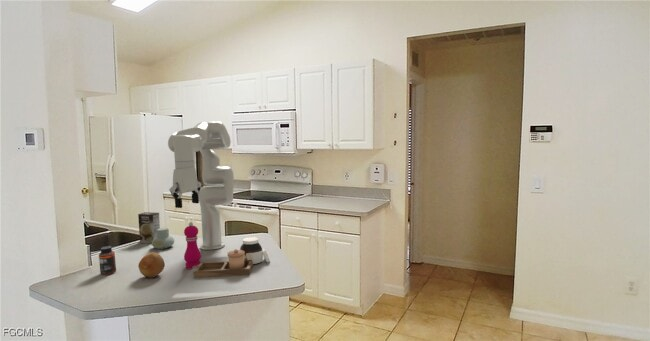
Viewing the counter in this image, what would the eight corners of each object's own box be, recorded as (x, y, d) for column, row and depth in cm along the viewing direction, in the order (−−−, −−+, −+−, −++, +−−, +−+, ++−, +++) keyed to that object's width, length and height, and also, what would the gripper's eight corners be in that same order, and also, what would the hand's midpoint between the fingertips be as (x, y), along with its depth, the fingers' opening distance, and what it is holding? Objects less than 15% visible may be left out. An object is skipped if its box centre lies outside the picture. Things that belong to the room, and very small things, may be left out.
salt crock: (229, 268, 160) (228, 247, 159) (246, 267, 160) (245, 246, 160) (227, 274, 153) (225, 252, 152) (244, 273, 153) (243, 251, 153)
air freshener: (149, 249, 195) (148, 230, 194) (159, 244, 203) (158, 226, 202) (167, 250, 193) (166, 231, 192) (177, 245, 201) (176, 227, 200)
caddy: (201, 270, 161) (200, 262, 161) (252, 268, 163) (252, 260, 162) (194, 280, 150) (193, 271, 150) (249, 277, 152) (249, 268, 151)
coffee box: (139, 242, 208) (137, 214, 207) (146, 239, 215) (144, 211, 213) (154, 243, 207) (152, 214, 205) (161, 240, 213) (159, 212, 212)
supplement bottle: (113, 269, 166) (112, 244, 165) (118, 272, 161) (116, 247, 160) (98, 273, 161) (96, 247, 160) (102, 276, 157) (100, 250, 156)
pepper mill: (196, 269, 163) (193, 224, 161) (181, 268, 164) (178, 224, 162) (204, 264, 170) (202, 220, 168) (190, 263, 171) (187, 220, 170)
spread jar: (238, 264, 168) (236, 239, 167) (258, 258, 176) (257, 234, 175) (254, 270, 160) (252, 243, 159) (274, 263, 168) (273, 238, 167)
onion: (139, 274, 159) (138, 251, 158) (165, 270, 162) (163, 248, 162) (138, 282, 150) (136, 258, 149) (165, 278, 154) (163, 254, 153)
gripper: (192, 163, 166) (194, 201, 168) (161, 167, 150) (164, 209, 152) (205, 163, 163) (208, 202, 165) (176, 167, 147) (179, 210, 149)
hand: (187, 205), depth 158 cm, fingers open, 9 cm apart
